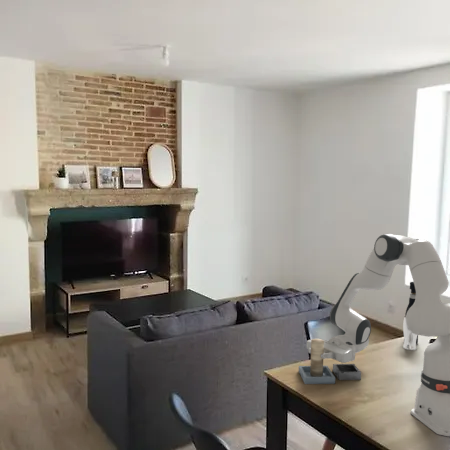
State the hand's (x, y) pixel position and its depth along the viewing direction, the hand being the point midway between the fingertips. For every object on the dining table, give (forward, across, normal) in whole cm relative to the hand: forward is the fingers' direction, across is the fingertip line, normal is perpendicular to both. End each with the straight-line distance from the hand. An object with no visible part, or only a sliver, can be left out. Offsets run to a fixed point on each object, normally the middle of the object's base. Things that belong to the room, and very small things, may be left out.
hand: (315, 353), depth 200 cm
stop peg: (-1, 0, +9) cm, 9 cm away
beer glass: (-63, +2, +10) cm, 64 cm away
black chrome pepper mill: (-71, -2, +10) cm, 72 cm away
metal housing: (-13, +6, +10) cm, 17 cm away
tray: (-1, 0, +10) cm, 10 cm away
